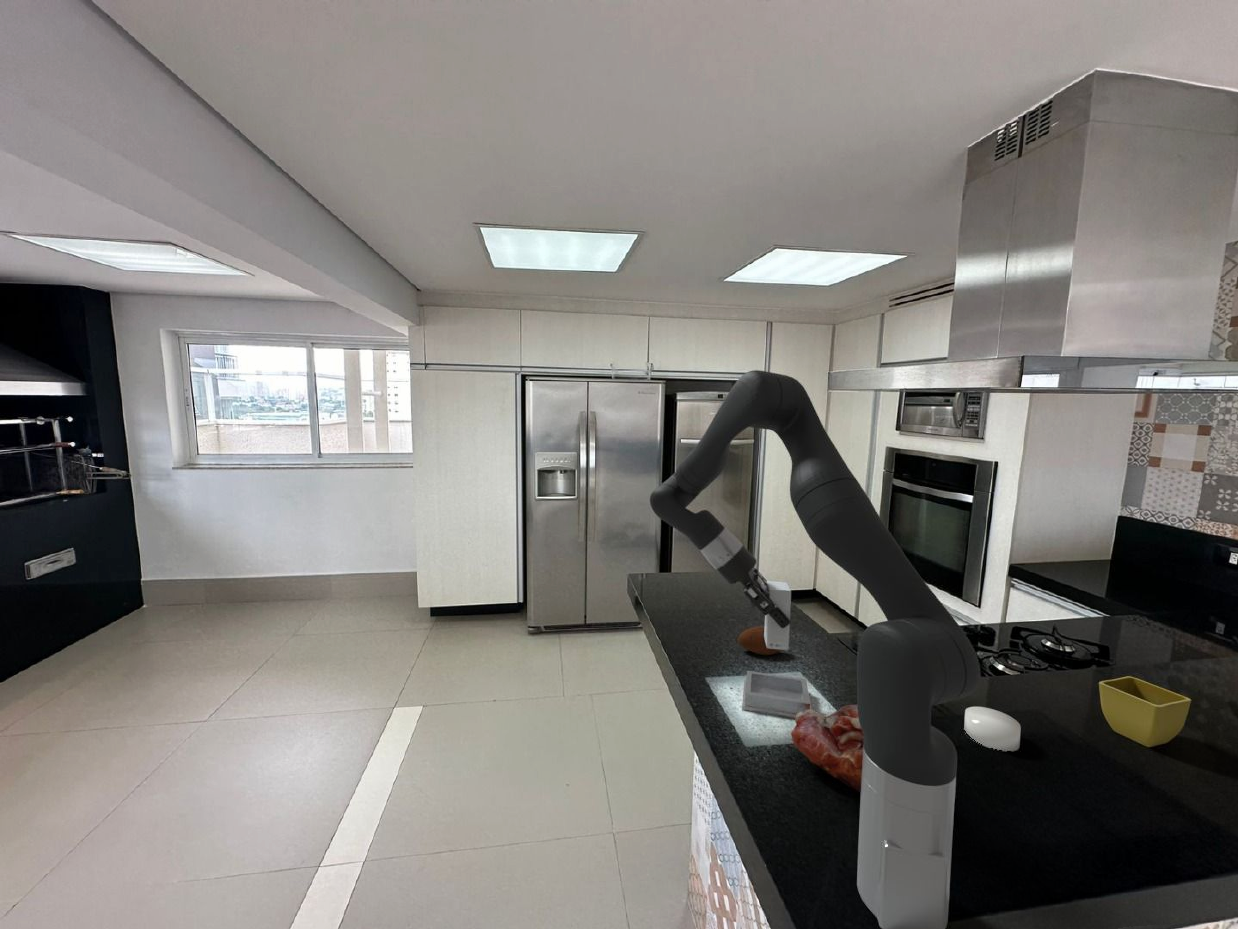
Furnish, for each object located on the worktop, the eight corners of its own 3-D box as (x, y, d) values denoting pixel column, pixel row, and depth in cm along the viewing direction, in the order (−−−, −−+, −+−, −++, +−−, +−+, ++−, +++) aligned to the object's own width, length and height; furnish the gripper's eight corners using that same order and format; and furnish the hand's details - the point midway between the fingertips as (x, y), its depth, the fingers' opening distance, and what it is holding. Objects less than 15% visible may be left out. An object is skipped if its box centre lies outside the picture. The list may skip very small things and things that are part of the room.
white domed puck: (1028, 756, 84) (1030, 736, 84) (974, 747, 87) (975, 727, 86) (1006, 729, 92) (1007, 710, 92) (957, 722, 94) (958, 703, 94)
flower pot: (1154, 757, 84) (1159, 706, 84) (1093, 727, 93) (1097, 681, 92) (1188, 749, 87) (1193, 699, 86) (1126, 721, 95) (1129, 675, 95)
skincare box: (789, 651, 97) (791, 591, 96) (766, 649, 97) (768, 589, 97) (784, 638, 103) (787, 581, 102) (763, 636, 103) (765, 580, 103)
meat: (783, 714, 96) (785, 664, 96) (905, 732, 91) (907, 679, 90) (792, 789, 76) (794, 726, 75) (949, 818, 71) (953, 750, 70)
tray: (812, 721, 94) (813, 705, 93) (742, 709, 97) (742, 694, 97) (807, 692, 104) (808, 678, 104) (744, 682, 108) (744, 669, 108)
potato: (788, 659, 119) (789, 633, 119) (740, 657, 120) (741, 631, 120) (781, 648, 125) (782, 623, 125) (735, 647, 126) (736, 622, 126)
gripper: (740, 552, 94) (803, 620, 91) (742, 536, 108) (798, 596, 105) (710, 576, 96) (772, 644, 93) (717, 558, 109) (771, 617, 107)
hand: (785, 618), depth 99 cm, fingers closed on skincare box, 6 cm apart
